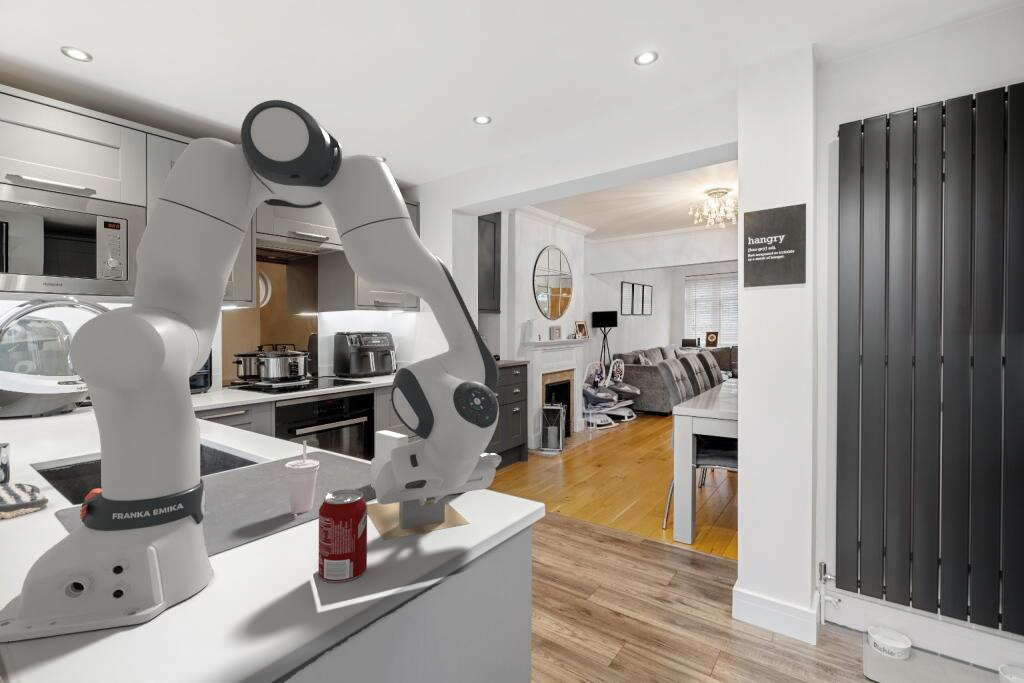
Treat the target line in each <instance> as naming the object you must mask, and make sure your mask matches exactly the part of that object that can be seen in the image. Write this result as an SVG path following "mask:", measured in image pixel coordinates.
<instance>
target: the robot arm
mask: <svg viewBox="0 0 1024 683" xmlns="http://www.w3.org/2000/svg"><path fill="white" fill-rule="evenodd" d="M240 128H241V129H240V144H238V143H234V144H233V143H232V142H230V141H227V140H224V139H220V138H217V137H199V138H197V139H194V140H192V141H191V142H189V144H188V145H187V146H186V147H185V149H184V150H183V151H182V153H181V154H180V155H179V157H178V158H177V160H176V161H175V163H174V165H173V166H172V168H171V169H170V172H169V173H168V175H167V177H166V178H165V180H164V183H163V184H162V187H161V189H160V192H159V194H158V195H157V199H156V202H155V203H154V207H153V209H152V211H151V214H150V215H149V216H150V217H149V218H148V221H147V224H146V227H145V229H144V232H143V234H142V236H141V239H140V242H139V244H138V246H137V249H136V253H135V260H136V266H137V267H136V268H137V269H136V281H135V282H136V283H135V288H134V295H133V300H132V304H131V305H130V306H122V307H117V308H113V309H110V310H108V311H106V312H103V313H100V314H98V315H96V316H94V317H93V318H92V317H91V319H89V320H87V321H86V322H85V323H82V325H81V326H80V327H78V329H77V331H76V332H75V333H74V334H73V337H72V339H71V342H70V344H69V345H70V346H69V359H70V363H71V365H72V368H73V370H74V371H75V372H76V374H77V375H78V376H79V378H80V379H81V380H83V381H84V383H85V385H86V388H87V391H88V395H89V399H90V402H91V405H92V409H93V413H94V416H95V417H94V418H95V419H96V423H97V428H98V432H99V433H98V434H99V440H100V462H101V463H100V471H101V472H100V474H101V475H100V476H101V477H100V478H101V479H100V480H101V481H100V482H101V484H100V485H101V488H100V487H99V488H94V489H92V490H90V491H89V493H88V494H87V495H86V496H85V497H84V502H83V503H82V504H81V509H79V511H80V514H79V518H80V520H81V523H82V524H81V525H80V526H78V527H77V528H76V529H74V530H73V531H72V532H70V533H69V534H68V535H66V536H65V537H64V538H62V539H61V540H60V541H58V542H57V543H56V544H54V545H53V546H52V547H50V548H49V549H47V550H46V551H45V552H44V553H43V554H41V555H40V556H39V558H38V559H36V561H34V563H33V564H32V566H31V567H30V568H29V570H28V572H27V574H26V576H25V579H24V581H23V584H22V587H21V592H20V593H19V594H17V595H15V597H14V598H12V599H11V600H10V601H9V602H8V603H7V604H6V605H5V606H4V607H3V608H2V609H1V611H0V643H8V641H9V642H14V641H21V640H30V639H36V638H37V639H38V638H42V637H43V638H45V637H52V636H58V635H67V634H73V633H80V632H81V633H82V632H87V631H94V630H95V631H96V630H102V629H109V628H117V627H123V626H131V625H138V624H142V623H146V622H148V621H150V620H152V619H153V618H155V617H156V616H158V615H159V614H162V613H163V612H164V611H165V610H166V609H168V608H170V607H172V606H174V605H176V604H178V603H180V602H183V601H184V600H186V599H189V598H190V597H192V596H194V595H195V594H197V593H198V592H200V591H201V590H203V589H205V587H207V585H208V584H209V583H210V582H211V581H212V579H213V577H214V574H215V573H214V570H213V566H212V564H211V561H210V559H209V554H208V551H207V547H206V545H207V544H206V542H205V541H206V540H205V537H204V536H205V535H204V528H203V520H204V517H205V514H206V513H205V509H206V498H205V497H206V495H205V494H206V493H205V488H204V480H203V479H202V478H201V426H200V424H199V422H198V421H197V417H196V414H195V409H194V404H193V403H194V402H193V400H192V399H193V398H192V395H191V387H190V386H191V385H190V377H192V376H194V375H195V374H197V373H198V372H199V371H200V370H201V369H202V368H203V366H205V364H206V363H207V361H208V359H209V357H210V354H211V351H212V346H213V342H214V338H215V334H216V331H217V327H218V323H219V319H220V316H221V310H222V308H223V301H224V298H225V293H226V288H227V286H228V282H229V279H230V275H231V273H232V270H233V268H234V265H235V263H236V261H237V258H238V255H239V252H240V249H241V247H242V244H243V241H244V239H245V236H246V233H247V231H248V228H249V226H250V223H251V220H252V218H253V215H254V213H255V211H256V209H257V208H258V206H259V205H261V204H262V203H265V204H266V205H268V206H271V207H273V206H276V207H285V208H294V209H313V208H317V207H319V206H321V205H324V207H326V209H328V211H329V213H330V215H331V217H332V218H333V221H334V224H335V227H336V231H337V234H338V238H339V239H340V243H341V247H342V249H343V253H344V255H345V258H346V259H347V262H348V264H349V266H350V267H351V269H352V271H353V272H354V273H355V274H356V275H357V276H358V277H359V278H361V279H362V280H364V281H365V282H366V283H368V284H371V285H373V286H375V287H378V288H382V289H386V290H392V291H398V292H404V293H407V294H410V295H413V296H416V297H418V298H420V299H422V300H423V301H424V302H425V303H426V304H427V305H428V306H429V308H430V310H431V311H432V313H433V315H434V317H435V320H436V321H437V324H438V326H439V328H440V330H441V332H442V334H443V336H444V339H445V340H446V343H447V344H448V351H446V352H445V351H444V352H443V353H439V354H437V355H435V356H431V357H430V358H425V359H422V360H419V361H416V362H414V363H411V364H408V365H407V366H404V367H401V368H400V369H399V370H398V371H397V372H396V374H395V376H394V378H393V381H392V384H391V385H392V386H391V396H390V397H391V404H392V410H393V412H395V415H396V416H397V418H398V419H399V421H400V422H401V424H403V426H405V427H406V429H408V430H409V431H411V432H412V433H414V434H415V435H416V436H418V437H419V438H420V439H419V440H417V441H414V442H411V443H408V444H407V445H404V446H400V447H396V448H394V449H393V450H392V451H391V460H390V461H388V462H387V463H386V464H385V465H384V466H383V467H382V469H381V471H380V473H379V475H378V477H377V479H376V482H375V491H374V492H375V496H376V501H377V503H380V504H382V505H385V504H391V503H397V502H404V501H410V500H417V499H419V501H420V505H421V506H422V505H428V504H434V503H437V501H438V499H441V498H442V497H444V496H445V497H446V496H450V495H449V494H456V493H462V492H465V493H467V492H473V491H474V492H475V491H480V490H485V489H487V488H489V487H490V486H491V485H492V483H493V482H494V479H495V476H496V473H497V472H496V471H497V469H496V468H497V467H498V466H499V465H500V464H501V462H502V456H501V455H498V454H497V453H494V452H492V453H488V452H486V449H487V447H488V446H489V444H490V442H491V440H492V438H493V436H494V434H495V430H496V429H497V426H498V421H499V415H500V410H499V408H500V407H499V402H498V399H497V397H496V395H495V391H496V390H497V386H498V383H499V378H500V376H499V375H500V370H499V365H498V363H497V362H498V361H497V360H496V358H495V357H494V355H493V353H492V352H491V350H490V349H489V348H488V346H487V345H486V343H485V341H484V340H483V338H482V336H481V334H480V332H479V330H478V328H477V325H476V324H475V322H474V319H473V318H472V316H471V314H470V312H469V309H468V307H467V305H466V303H465V301H464V298H463V296H462V295H461V292H460V291H459V289H458V287H457V285H456V282H455V280H454V278H453V276H452V274H451V272H450V270H449V269H448V267H447V265H446V263H445V262H444V261H443V260H442V259H441V258H440V257H439V256H437V255H436V254H434V253H432V252H431V251H430V250H429V248H427V247H426V245H425V244H424V243H423V241H422V240H421V238H420V237H419V235H418V234H417V231H416V229H415V227H414V223H413V221H412V218H411V215H410V213H409V210H408V207H407V204H406V202H405V200H404V197H403V194H402V192H401V191H400V188H399V186H398V184H397V182H396V181H395V178H394V176H393V175H392V173H391V171H390V169H389V168H388V166H387V165H386V163H385V162H383V161H382V160H381V159H380V158H377V157H376V156H373V155H368V154H356V155H349V156H348V155H347V156H346V155H344V154H343V149H342V148H343V147H342V145H341V143H340V142H339V141H338V140H337V138H335V137H334V136H333V135H332V134H331V133H330V132H329V131H328V130H326V128H324V127H323V125H322V124H320V122H319V121H318V120H317V119H316V118H315V116H313V115H312V114H310V113H309V112H308V111H306V110H305V109H304V108H303V107H301V106H299V105H298V104H295V103H293V102H291V101H288V100H282V99H273V100H267V101H266V100H265V101H263V102H260V103H258V104H256V105H255V106H254V107H253V108H252V109H250V110H249V111H248V112H247V113H246V115H245V118H244V119H243V122H242V124H241V127H240Z"/></svg>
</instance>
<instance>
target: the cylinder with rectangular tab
mask: <svg viewBox="0 0 1024 683" xmlns="http://www.w3.org/2000/svg"><path fill="white" fill-rule="evenodd" d="M374 439H375V440H374V441H375V448H374V451H375V452H374V456H375V457H373V458H372V459H371V460H370V463H371V464H370V487H372V488H373V489H372V488H371V489H372V490H374V489H375V482H376V479H377V477H378V475H379V473H380V471H381V469H382V467H383V466H384V465H385V464H386V463H387V462H388V461H390V460H391V451H392V450H393V449H394V448H396V447H400V446H404V445H407V444H409V435H407V434H403V433H398V432H395V431H391V430H385V429H384V430H379V431H375V438H374Z"/></svg>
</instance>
